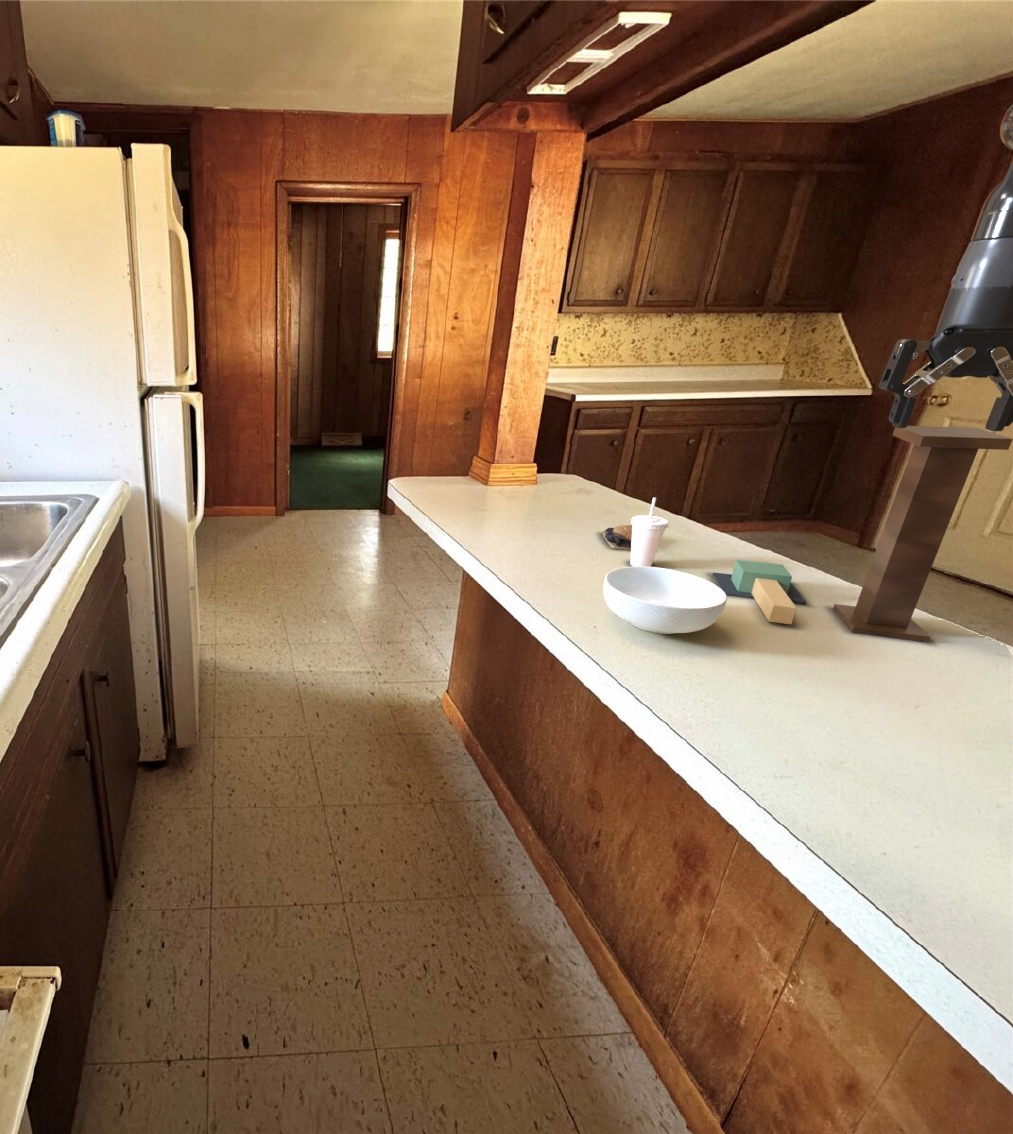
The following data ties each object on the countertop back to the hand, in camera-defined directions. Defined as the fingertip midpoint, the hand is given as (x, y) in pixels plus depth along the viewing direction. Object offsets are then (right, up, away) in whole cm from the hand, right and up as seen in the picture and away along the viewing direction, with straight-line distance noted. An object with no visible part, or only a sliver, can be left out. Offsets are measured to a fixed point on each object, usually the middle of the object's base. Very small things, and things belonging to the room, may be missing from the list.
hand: (945, 428), depth 76 cm
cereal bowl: (-18, -27, +28) cm, 42 cm away
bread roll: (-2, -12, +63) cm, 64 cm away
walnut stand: (+16, -26, +24) cm, 39 cm away
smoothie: (-6, -17, +51) cm, 54 cm away
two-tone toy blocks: (+5, -23, +33) cm, 40 cm away
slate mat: (+8, -21, +38) cm, 45 cm away
